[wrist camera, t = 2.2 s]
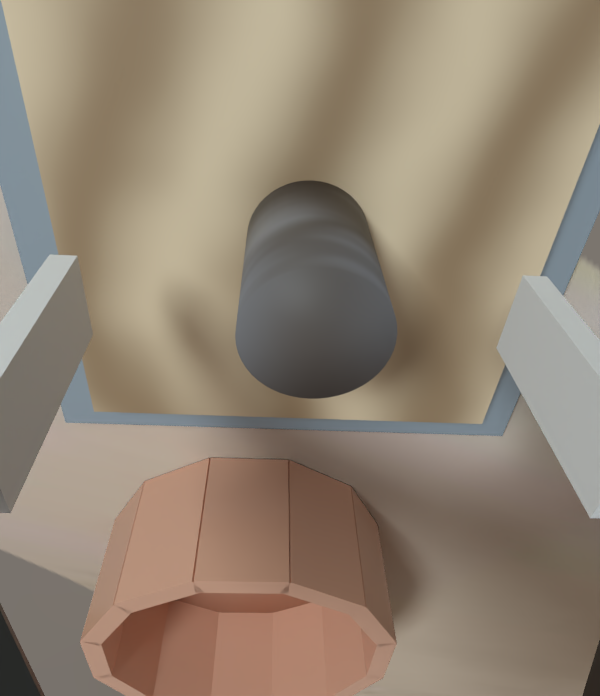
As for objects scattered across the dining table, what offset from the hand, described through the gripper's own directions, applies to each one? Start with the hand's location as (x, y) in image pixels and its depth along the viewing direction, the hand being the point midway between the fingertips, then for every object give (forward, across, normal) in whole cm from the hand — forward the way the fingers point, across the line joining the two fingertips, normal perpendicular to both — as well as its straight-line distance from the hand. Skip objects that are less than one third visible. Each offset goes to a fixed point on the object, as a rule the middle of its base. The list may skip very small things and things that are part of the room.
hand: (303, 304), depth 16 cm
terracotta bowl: (+6, -2, -22) cm, 23 cm away
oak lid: (+5, 0, 0) cm, 5 cm away
